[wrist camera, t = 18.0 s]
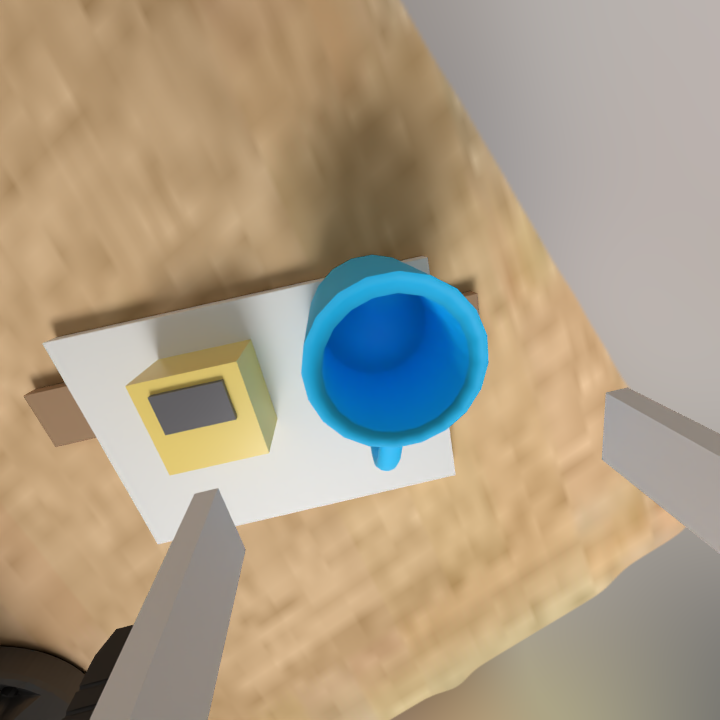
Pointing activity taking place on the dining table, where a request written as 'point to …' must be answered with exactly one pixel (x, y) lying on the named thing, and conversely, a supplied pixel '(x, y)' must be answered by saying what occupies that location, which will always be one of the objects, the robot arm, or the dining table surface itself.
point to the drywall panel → (237, 478)
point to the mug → (391, 355)
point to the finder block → (206, 407)
